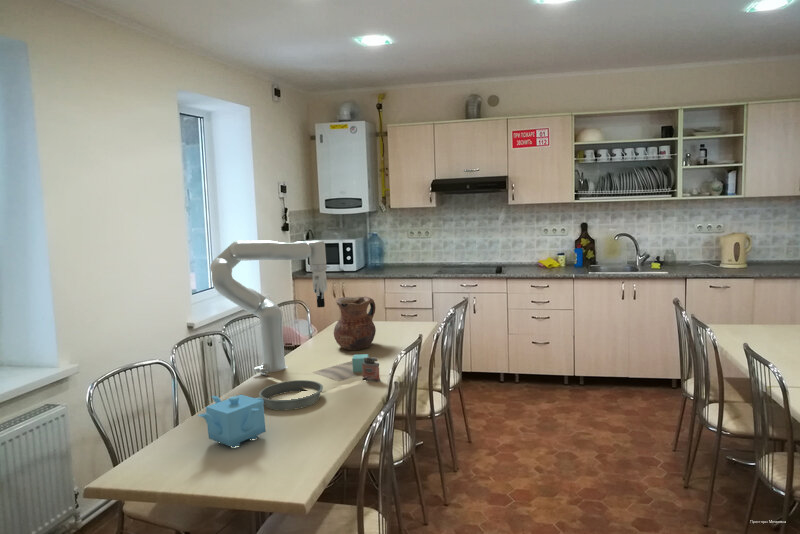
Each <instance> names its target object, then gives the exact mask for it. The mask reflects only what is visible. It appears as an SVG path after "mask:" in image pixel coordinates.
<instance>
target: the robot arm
mask: <svg viewBox="0 0 800 534" xmlns="http://www.w3.org/2000/svg"><path fill="white" fill-rule="evenodd" d="M306 259H308V261H309V271H310V272H311V273H312V288H313V289H312V291H313V293H314V294H316V296H315V297H316V306H317V308H325V306H326V304H325V302H326V301H325V292H326V291H328V281H327V273H326V271H327V254H326V244H325V241H324V240H311V241H301V240H299V241H295V242H280V241H279V242H278V241H274V240H251V241H250V240H235V241H233V242H232V243H231V244H230V245H229V246H228V247H226V248H225V249H224V250H223V251H222V252H221V253H220V254H219V255H217V256H216V257H215V258H214V259H213V260H212V261H211V264H210V272H211V281H212V284H213V287H214V289H215V291H217V292H218V293H219V294H220V295H221V296H222V297H223V298H226V299H227V300H229V301H230V302H232V303H233V304H234V305H237V306H238V307H240V308H241V310H244V311H246V312H249V313H250V314H252V315H253V316H255V317H257V318H259V320H260V321H259V322H260V338H261V339H260V340H261V351H262V361H263V362H261V364H260V365H259V366H256V367H253V372H254V373H256V372H260V374H261V375H262V376H267V377H268V376H269V374H268V373H273V372H281V371H284V370H285V369H288V366H287V365H286V360H285V347H284V335H283V334H284V333H283V313H282V310H281V308H280V306H279V305H277V304H276V303H275V302H274V301H272V300H270V299H269V298H268V297H266V296H265V295H262V294H261V293H259V292H258V291H256V290H255V289H253V288H250V287H246V286H245V285H243V284H242V283H240V282H239V281H237V280H235V279H234V277H233V269H234V268H235V267H236V266H237V265H238V264H239V263H240V262H241V261H242V262H243V261H295V260H296V261H297V260H299V261H300V260H301V261H302V260H303V261H304V260H306Z"/></svg>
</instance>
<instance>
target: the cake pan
mask: <svg viewBox="0 0 800 534" xmlns="http://www.w3.org/2000/svg"><path fill="white" fill-rule="evenodd" d="M304 388H308V389H313V390H316V391H317V392H313V393H314V394H312V395H310V396H306V397H303V398H298V399H291V400H278V399H271V398H273V397H275V396H277V394H278V395H280V393H282V394H285V393H284V392H286V393H291V392H290V391H294V392H301V391H309V390H307V389H304ZM323 389H324V386H323V384H322V383H320V382H318V381H314V380H308V379H307V380H303V379H301V380H300V379H299V380H287V381H281V382H277V383H274V384H271V385H268V386H266V387H264V388H262V389H261V390H260V391H259V393H258V396H259V398H262V399H263V400H264V404H263V406H265V408H267V409H270V408H271V410H275V409H278V410H277V411H286V410H285V409H293V410H296V409H295V408H299V409H302V408H301V407H303V408H306V407H305V406H307V407H309V406H308V405H310V406H312V405H314V404H315V402H316V401H317V400H318V399H319V400H320V396H321V392H322V391H323ZM274 395H275V396H274ZM268 398H269V399H268ZM319 400H318V401H319ZM318 401H317V402H318ZM317 402H316V403H317ZM313 403H314V404H313ZM311 404H312V405H311Z"/></svg>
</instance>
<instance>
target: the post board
mask: <svg viewBox="0 0 800 534" xmlns="http://www.w3.org/2000/svg"><path fill="white" fill-rule="evenodd" d="M312 373H313V374H316V375H319V376H322V377H325V378H328V379H330V380H334V381H337V382H341V381H345V380H348V379H351V378H354V377H359V376H361V375H362V376H363V372H353V365H352V360H351V361H347V362H343V363H340V364H336V365H333V366H329V367H326V368H322V369H319V370H314V371H312Z"/></svg>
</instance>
